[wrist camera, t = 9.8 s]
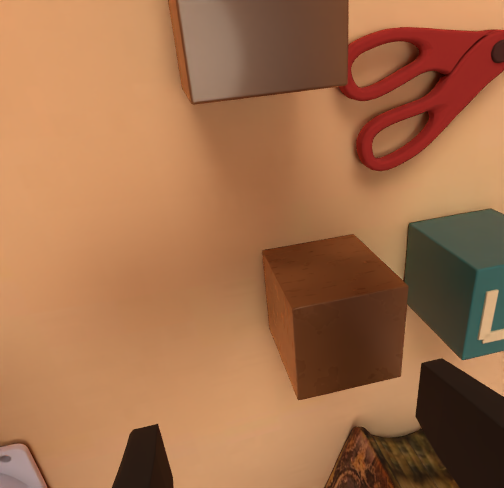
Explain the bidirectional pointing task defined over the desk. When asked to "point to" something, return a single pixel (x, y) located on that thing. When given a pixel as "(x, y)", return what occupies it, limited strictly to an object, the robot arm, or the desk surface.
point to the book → (389, 463)
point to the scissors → (440, 97)
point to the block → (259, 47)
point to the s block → (459, 280)
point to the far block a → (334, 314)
